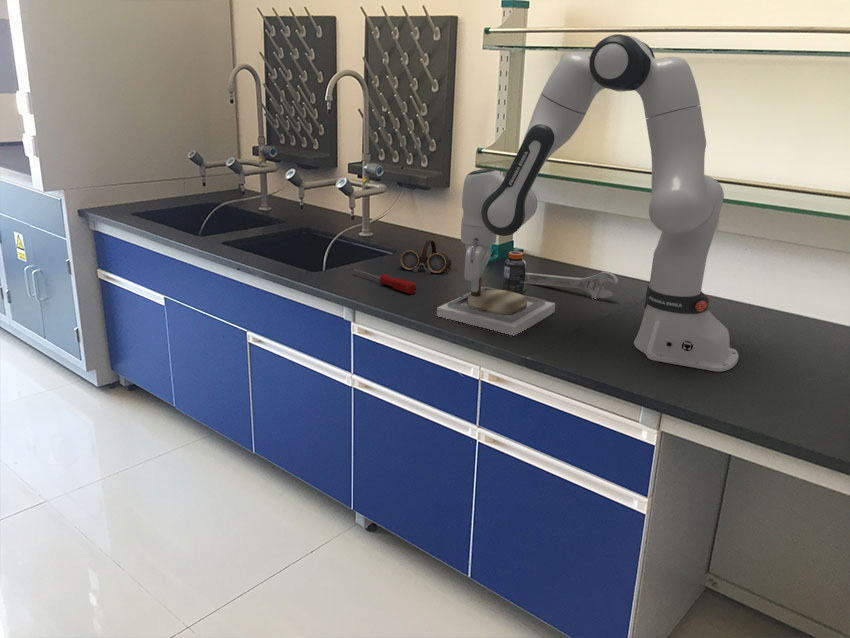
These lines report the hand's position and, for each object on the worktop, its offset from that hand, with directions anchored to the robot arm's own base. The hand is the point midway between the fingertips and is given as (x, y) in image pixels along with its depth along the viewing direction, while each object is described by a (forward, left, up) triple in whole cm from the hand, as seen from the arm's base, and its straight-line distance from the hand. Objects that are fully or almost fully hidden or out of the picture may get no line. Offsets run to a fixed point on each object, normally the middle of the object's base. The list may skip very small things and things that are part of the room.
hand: (476, 287), depth 183 cm
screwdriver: (+33, -3, -7) cm, 34 cm away
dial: (-5, -2, -4) cm, 7 cm away
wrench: (-11, -31, -7) cm, 33 cm away
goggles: (+33, -25, -7) cm, 42 cm away
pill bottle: (+1, -22, -7) cm, 23 cm away
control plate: (-5, -2, -7) cm, 9 cm away
